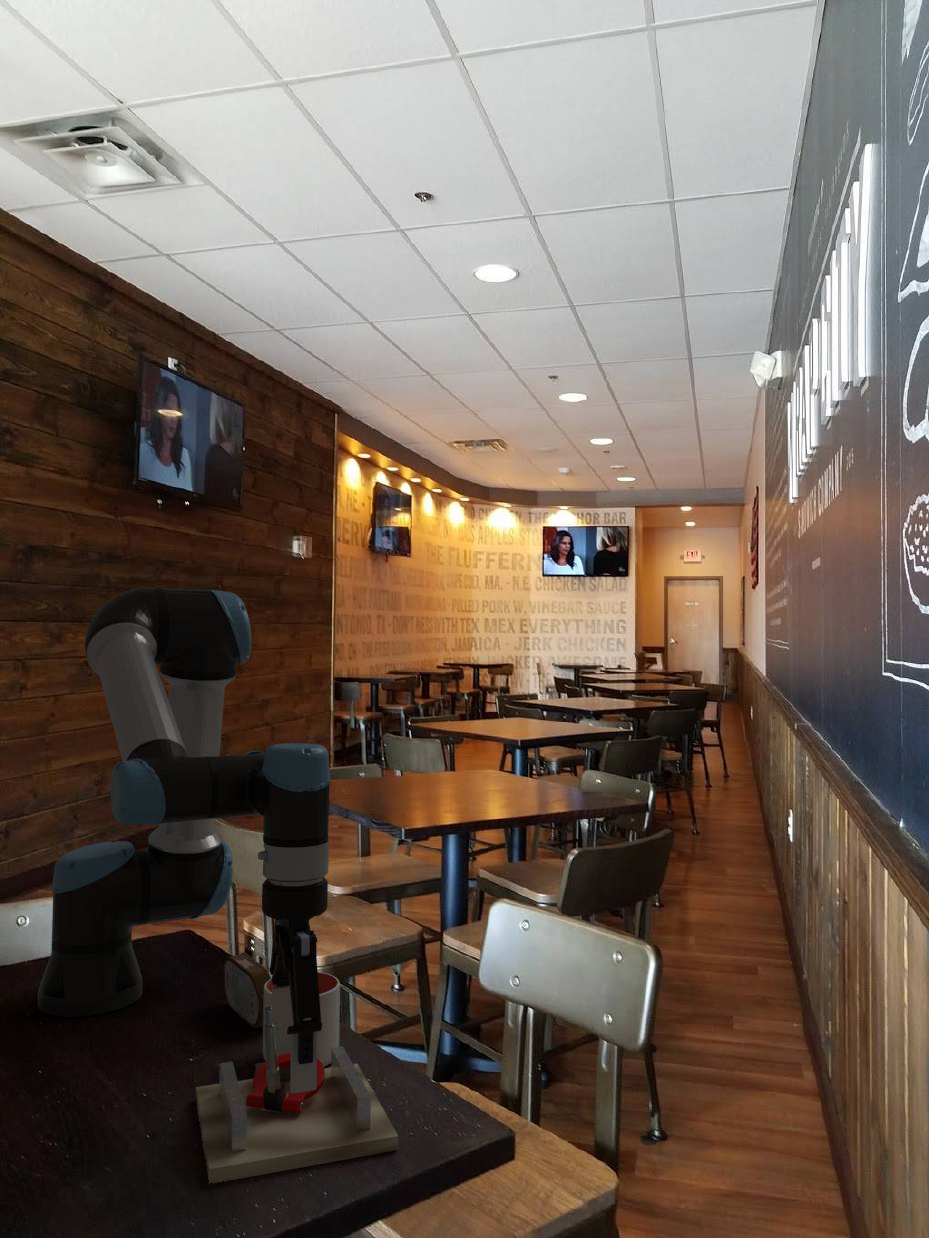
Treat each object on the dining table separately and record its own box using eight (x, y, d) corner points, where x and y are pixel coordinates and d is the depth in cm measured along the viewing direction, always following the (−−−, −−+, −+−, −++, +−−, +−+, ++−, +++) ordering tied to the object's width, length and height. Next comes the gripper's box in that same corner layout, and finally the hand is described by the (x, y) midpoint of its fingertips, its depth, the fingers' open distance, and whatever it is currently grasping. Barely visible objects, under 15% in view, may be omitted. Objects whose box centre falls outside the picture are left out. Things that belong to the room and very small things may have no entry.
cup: (272, 1043, 129) (273, 970, 130) (344, 1044, 129) (345, 971, 129) (254, 1076, 119) (255, 996, 120) (331, 1077, 119) (332, 998, 119)
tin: (277, 1033, 133) (278, 973, 133) (256, 1038, 131) (257, 977, 131) (239, 1000, 145) (240, 945, 146) (219, 1004, 144) (220, 948, 144)
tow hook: (270, 1057, 116) (238, 1109, 107) (263, 963, 114) (230, 1008, 105) (334, 1064, 115) (307, 1118, 106) (329, 969, 112) (300, 1016, 103)
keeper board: (195, 1099, 113) (195, 1086, 113) (357, 1075, 120) (357, 1063, 120) (209, 1184, 95) (209, 1169, 95) (398, 1149, 102) (398, 1135, 102)
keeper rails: (217, 1085, 113) (217, 1056, 114) (339, 1067, 119) (339, 1039, 119) (231, 1152, 98) (232, 1118, 98) (370, 1128, 103) (370, 1096, 104)
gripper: (248, 857, 119) (246, 1026, 118) (279, 908, 95) (276, 1120, 95) (307, 853, 121) (305, 1019, 121) (351, 902, 98) (349, 1108, 97)
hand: (292, 1064), depth 108 cm, fingers open, 13 cm apart
